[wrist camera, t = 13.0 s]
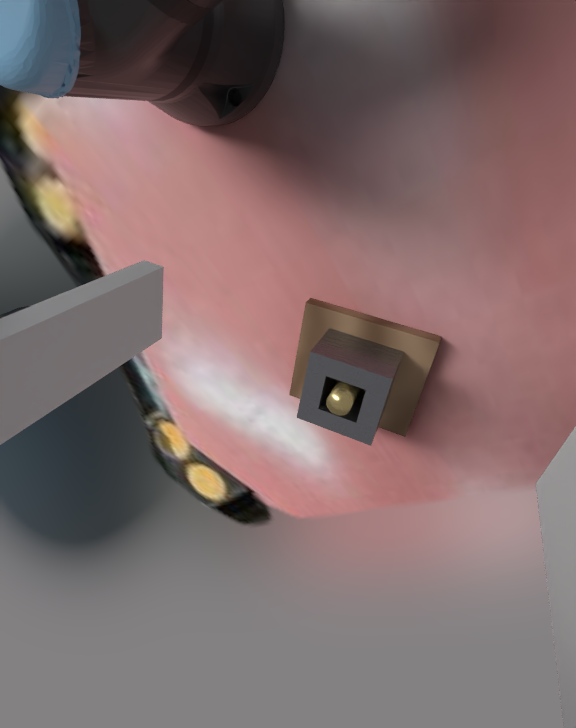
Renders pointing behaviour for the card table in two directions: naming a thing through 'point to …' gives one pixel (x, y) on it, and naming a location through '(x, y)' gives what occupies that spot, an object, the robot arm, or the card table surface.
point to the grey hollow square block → (353, 366)
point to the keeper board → (377, 330)
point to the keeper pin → (342, 398)
